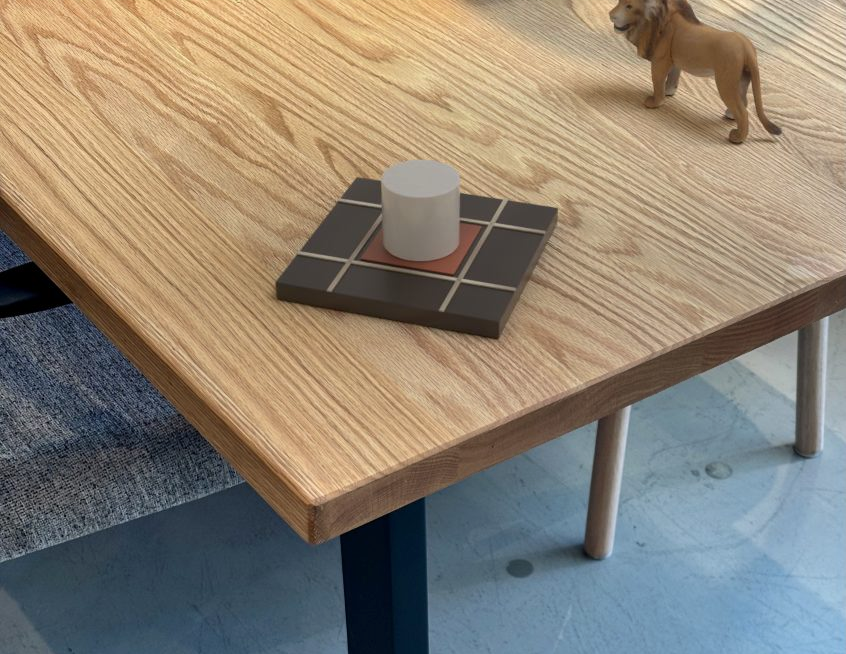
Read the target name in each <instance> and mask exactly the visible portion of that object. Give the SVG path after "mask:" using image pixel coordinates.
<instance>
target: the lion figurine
mask: <svg viewBox="0 0 846 654" xmlns="http://www.w3.org/2000/svg"><path fill="white" fill-rule="evenodd" d="M608 17H609V21H610V22H611V23H613V32H614V34H616V35H621V34H622V35H623V37H624V38H625V40H626V41H628V42H629V43H630V44H632V45H633V46H634V47H636V55H637V56H638V57H640V58H641V59H643V60H645V61H647V62H650V71H651V72H650V74H651V75H650V76H651V83H652V88H653V95H647V96H646V97H644V100H643V103H644V105H645V107H646V108H651V109H652V108H658V107H660V106H661V105H663V104H664V102H665V99H666V96H672V95H674V94H676V92H677V91H678V89H679V83H680V77H681V73H682V71H683V72H685V73H687V74H688V75H691V76H693V77H696V78H712V77H714V82H715V86H716V89H717V93H718V96H719V98H720V99H721V101H722V103H723V104H724V106H725V107H726V109H725V111H724V114H725V116H726V117H727V118H729V119H731V120H732V119H733V120H734V122H735V123H736V126H737V127H736V128H732V129H731V130H730V131H729V134H728V139H729V140H730V142H732V143H741V142H743V141H745V140H746V139H747V137H748V135H749V133H750V125H749V123H750V122H749V112H748V111H749V110H748V109H747V108H748V106H749V101H748V96H747V95H748V90H749V87H750V85H751V89H752V95H753V96H752V97H753V101H754V102H753V103H754V107H755V110H756V115H757V117H758V119H759V121H760V123H761V125H762V127H763V128H764V130H765V131H766V132H767V133H768V134H769V135H774V136H780V135H782V134H783V130H782V129H781V128H780V127H779V126H778V125H776V124H775V123H773V122H772V121H770V119H768V117H767V116H766V113H765V111H764V107H763V100H762V99H763V98H762V89H761V88H762V87H761V75H760V68H759V63H758V59H757V58H758V52H757V49H756V46H755V45H754V43H753V42H752V40H751V39H749V37H747V36H746V35H745V34H744V33H741V32H738V31H729V30H728V31H727V30H723V29H722V30H721V29H718V28H715V27H712V26H710V25H707V24H704V23H703V22H701V20H699V18H698V17H697V16H696V14H695V12H694V10H693V7H692V5H691V4H690V3H689V2H688V0H618V2H617V4H616V5H615V6H614V7H613V8H612V9H611V10H610V11H609V12H608Z"/></svg>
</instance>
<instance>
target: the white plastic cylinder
mask: <svg viewBox="0 0 846 654" xmlns="http://www.w3.org/2000/svg"><path fill="white" fill-rule="evenodd" d="M380 181H381V203H382V235H383V245H384V247H385V249H386V250H387V251H388V252H389V253H390V254H392V255H393V256H395V257H398V258H400V259H404V260H409V261H419V262H420V261H433V260H437V259H441V258H444V257H446V256H448V255H450V254H452V253H453V252H454V251H455V250H456V249H457V248H458V245H459V242H460V193H461V176H460V173H459V172H458V170H457V169H455V168H454V167H453V166H451V165H450V164H447V163H445V162H442V161H438V160H431V159H409V160H404V161H400V162H398V163H395V164H393V165H391V166H389V167H387V168H386V169H385V170H384V171H383V172H382V173H381V177H380Z"/></svg>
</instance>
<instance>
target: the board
mask: <svg viewBox="0 0 846 654" xmlns="http://www.w3.org/2000/svg"><path fill="white" fill-rule="evenodd" d="M558 217H559V208H558V207H554V206H548V205H542V204H535V203H529V202H521V201H517V200H516V201H515V200H510V198H509V197H504V198H503V199H502V198H498V197H497V198H495V197H491V196H490V197H489V196H484V195H483V196H482V195H478V194H477V195H476V194H470V193H464V192H460V242H459V245H458V248H457V249H456V250H455V251H454V252H453V253H452V254H450V255H448V256H446V257H444V258H441V259H437V260H433V261H420V262H419V261H409V260H404V259H400V258H398V257H395V256H393V255H392V254H390V253H389V252H388V251H387V250H386V249H385V247H384V245H383V235H382V203H381V179H380V180H379V179H372V178H366V177H359V176H356V177H355V178H354V180H353V181H352V182H351V183H350V185H349V186H348V187H347V189H346V190H345V191H344V193H343V194H342V196H340V198H337V200H336V203H335V204H334V206H333V207H332V209H331V210H329V212H328V214H327V215H326V216H325V217H324V218H323V220H322V221H321V223H320V224H319V225H318V226H317V228H316V229H315V231H314V232H312V234H311V235H310V237H309V238H308V239H307V241H306V242H305V243H304V244H303V246H302V247H301V248H300V250H297V251H296V252H295V257H294V258H293V259H292V260H291V262H290V263H289V264H288V265H287V267H286V268H285V269H284V270H283V272H282V273H281V274H280V276H279V277H277V280H276V281H275V282H274V283H275V292H276V293H275V294H276V295H275V296H276V299H277V300H281V301H287V302H292V303H297V304H302V305H307V306H308V305H309V306H315V307H320V308H325V309H326V308H327V309H332V310H336V311H342V312H348V313H353V314H359V315H364V316H370V317H375V318H381V319H385V320H392V321H398V322H404V323H407V324H408V323H409V324H414V325H420V326H424V327H425V326H426V327H431V328H437V329H442V330H446V331H447V330H448V331H453V332H458V333H465V334H470V335H476V336H481V337H485V338H486V337H487V338H492V339H499V338H500V337H501V335H502V332H503V331H504V329H505V327H506V325H507V323H508V321H509V319H510V317H511V315H512V313H513V311H514V309H515V307H516V306H517V303H518V302H519V299H520V297H521V295H522V293H523V291H524V290H525V288H526V285H527V284H528V281H529V280H530V278H531V277H532V276H531V275H532V274H533V272H534V270H535V268H536V266H537V264H538V262H539V260H540V259H541V256H542V254H543V252H544V250H545V249H546V246H547V244H548V242H549V241H550V238H551V237H552V235H553V232H554V230H555V229H556V226H557V225H558V219H559V218H558Z"/></svg>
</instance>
